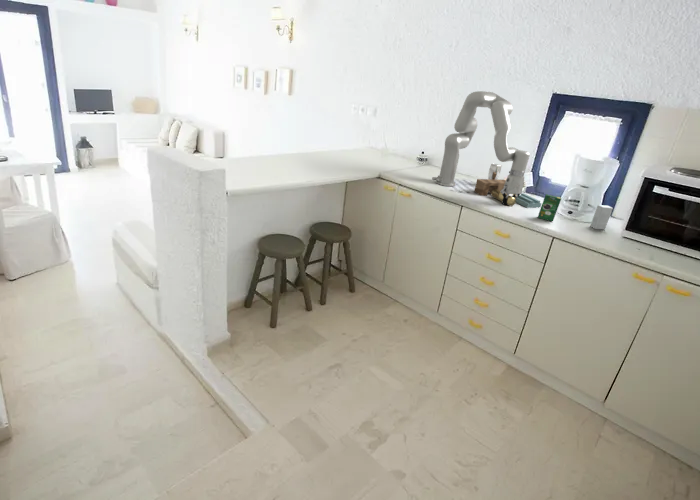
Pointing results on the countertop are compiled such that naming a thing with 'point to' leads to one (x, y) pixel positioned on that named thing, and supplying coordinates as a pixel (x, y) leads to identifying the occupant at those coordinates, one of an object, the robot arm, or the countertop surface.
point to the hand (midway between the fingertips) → (508, 203)
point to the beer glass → (494, 171)
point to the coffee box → (549, 207)
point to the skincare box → (601, 217)
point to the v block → (528, 201)
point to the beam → (488, 186)
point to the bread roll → (499, 196)
